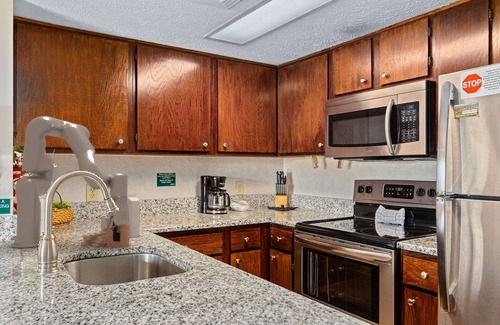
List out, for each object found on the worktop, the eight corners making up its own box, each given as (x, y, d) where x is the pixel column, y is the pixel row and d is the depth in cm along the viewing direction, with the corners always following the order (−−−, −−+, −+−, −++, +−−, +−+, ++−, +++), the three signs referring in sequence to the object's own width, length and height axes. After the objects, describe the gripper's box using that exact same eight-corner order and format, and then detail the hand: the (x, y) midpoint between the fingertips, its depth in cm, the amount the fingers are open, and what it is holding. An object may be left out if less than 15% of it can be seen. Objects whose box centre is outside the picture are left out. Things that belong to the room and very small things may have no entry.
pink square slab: (107, 246, 176) (107, 224, 177) (109, 245, 178) (109, 223, 179) (126, 247, 174) (126, 225, 174) (129, 246, 176) (129, 224, 176)
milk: (122, 237, 201) (122, 194, 201) (131, 235, 206) (131, 193, 207) (131, 238, 198) (131, 194, 199) (139, 236, 204) (140, 194, 204)
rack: (80, 245, 178) (81, 220, 179) (103, 238, 196) (104, 216, 196) (103, 246, 176) (104, 221, 176) (125, 239, 193) (125, 217, 193)
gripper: (116, 201, 168) (115, 244, 168) (135, 199, 184) (134, 238, 183) (100, 201, 170) (100, 243, 169) (120, 198, 185) (120, 237, 185)
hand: (118, 240), depth 176 cm, fingers closed on pink square slab, 2 cm apart
